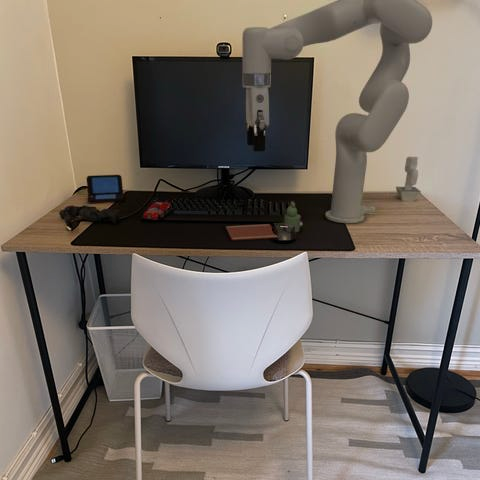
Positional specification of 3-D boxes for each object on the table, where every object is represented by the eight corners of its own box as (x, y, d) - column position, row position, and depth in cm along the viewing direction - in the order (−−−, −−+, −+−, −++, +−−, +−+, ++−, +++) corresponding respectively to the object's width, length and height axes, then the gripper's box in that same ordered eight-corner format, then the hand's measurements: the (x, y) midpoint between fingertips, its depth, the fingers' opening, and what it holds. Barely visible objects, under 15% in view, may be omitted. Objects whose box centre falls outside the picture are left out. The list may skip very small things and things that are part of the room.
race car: (156, 223, 153) (155, 210, 151) (141, 221, 155) (139, 208, 153) (174, 211, 164) (174, 199, 162) (160, 209, 166) (159, 198, 164)
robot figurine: (129, 215, 161) (73, 210, 165) (128, 202, 159) (72, 197, 162) (105, 233, 146) (45, 226, 149) (104, 219, 144) (42, 212, 147)
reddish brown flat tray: (269, 224, 152) (269, 223, 152) (279, 237, 142) (279, 236, 142) (225, 227, 150) (225, 226, 150) (231, 240, 140) (231, 239, 140)
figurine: (400, 202, 175) (407, 159, 168) (393, 195, 183) (399, 154, 176) (420, 202, 175) (428, 159, 168) (412, 195, 184) (419, 154, 176)
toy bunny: (299, 227, 151) (301, 199, 146) (304, 232, 146) (306, 203, 142) (282, 228, 150) (283, 200, 145) (286, 233, 146) (287, 204, 141)
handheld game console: (87, 203, 171) (84, 182, 168) (89, 196, 181) (86, 175, 177) (124, 201, 174) (121, 180, 170) (123, 194, 183) (121, 174, 180)
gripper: (277, 83, 123) (275, 153, 131) (263, 79, 138) (262, 142, 146) (248, 83, 122) (248, 154, 130) (237, 79, 137) (237, 143, 145)
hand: (255, 147), depth 138 cm, fingers open, 9 cm apart
